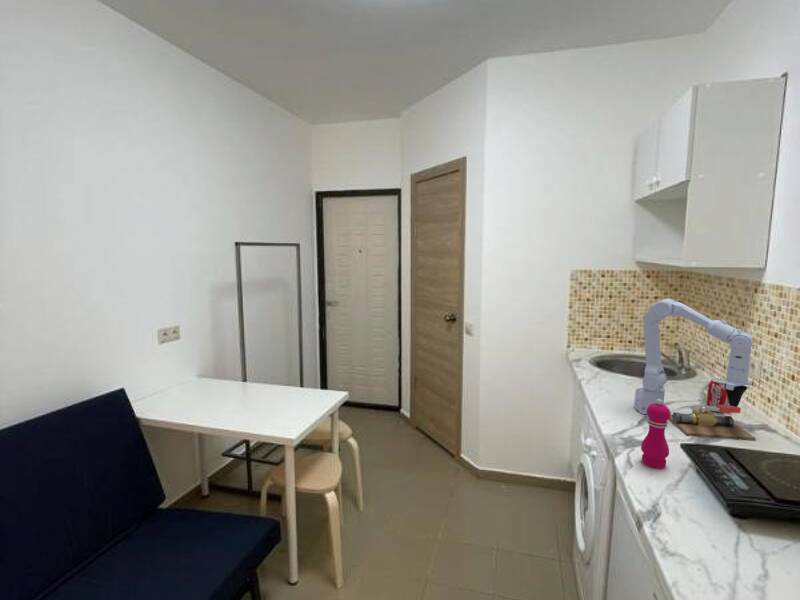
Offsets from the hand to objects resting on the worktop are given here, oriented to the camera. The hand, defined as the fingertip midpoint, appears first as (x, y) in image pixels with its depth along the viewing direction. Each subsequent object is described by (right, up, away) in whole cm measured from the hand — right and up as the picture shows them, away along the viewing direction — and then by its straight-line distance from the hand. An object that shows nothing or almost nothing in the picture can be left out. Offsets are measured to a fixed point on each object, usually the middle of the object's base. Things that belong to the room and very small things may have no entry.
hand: (733, 405), depth 150 cm
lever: (-3, -3, +4) cm, 5 cm away
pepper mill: (-40, -12, -21) cm, 47 cm away
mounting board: (-6, -9, +4) cm, 11 cm away
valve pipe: (-8, -9, +5) cm, 12 cm away
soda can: (+9, -7, +20) cm, 23 cm away
